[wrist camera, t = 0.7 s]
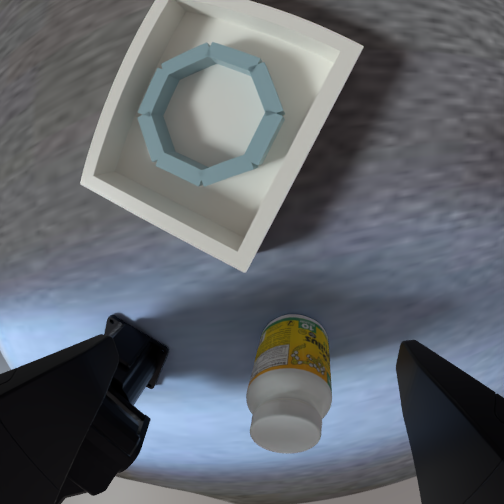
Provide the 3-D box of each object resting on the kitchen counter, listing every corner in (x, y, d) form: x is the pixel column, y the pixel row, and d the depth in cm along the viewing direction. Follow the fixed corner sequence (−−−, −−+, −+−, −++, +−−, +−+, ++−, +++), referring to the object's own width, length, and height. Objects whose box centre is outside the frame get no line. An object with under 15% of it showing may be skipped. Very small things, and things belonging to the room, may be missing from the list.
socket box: (254, 253, 22) (245, 273, 18) (107, 177, 22) (79, 183, 18) (354, 62, 16) (363, 46, 13) (184, 2, 16) (165, -17, 13)
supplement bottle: (248, 328, 24) (217, 419, 15) (309, 300, 22) (307, 393, 13) (282, 373, 25) (267, 465, 16) (339, 351, 23) (347, 446, 14)
